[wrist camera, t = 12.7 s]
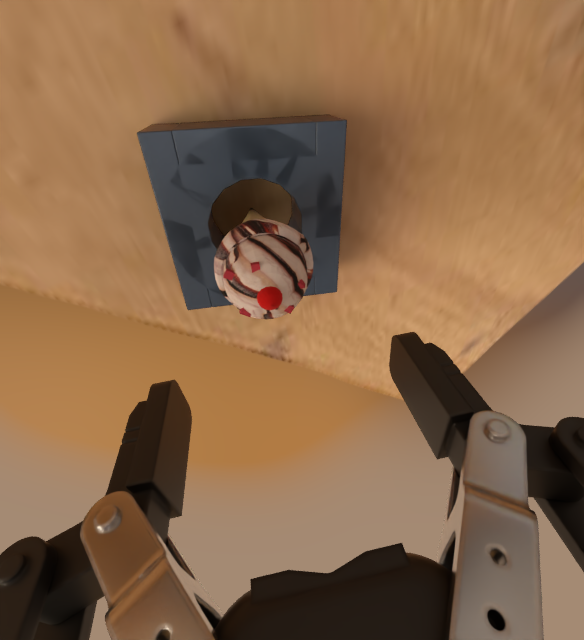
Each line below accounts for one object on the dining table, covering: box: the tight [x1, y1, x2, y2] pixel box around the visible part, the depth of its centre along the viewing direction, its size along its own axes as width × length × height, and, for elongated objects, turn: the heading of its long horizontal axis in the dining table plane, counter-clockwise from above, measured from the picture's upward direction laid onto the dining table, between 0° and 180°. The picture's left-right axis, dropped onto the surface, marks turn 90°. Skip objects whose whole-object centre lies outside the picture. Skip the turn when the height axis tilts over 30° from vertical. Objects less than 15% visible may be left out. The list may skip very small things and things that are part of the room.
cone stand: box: [137, 115, 347, 310], centre depth 25 cm, size 13×13×4 cm
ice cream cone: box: [214, 208, 313, 319], centre depth 21 cm, size 6×6×15 cm
